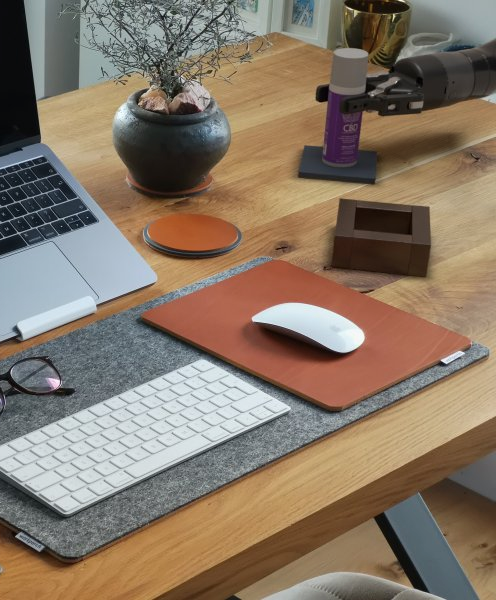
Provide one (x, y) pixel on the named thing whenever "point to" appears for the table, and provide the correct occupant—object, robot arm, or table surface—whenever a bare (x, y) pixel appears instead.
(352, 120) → the container
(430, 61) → the robot arm
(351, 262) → the stand
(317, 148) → the mat
